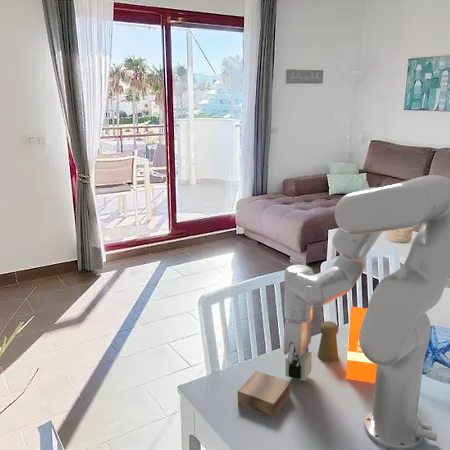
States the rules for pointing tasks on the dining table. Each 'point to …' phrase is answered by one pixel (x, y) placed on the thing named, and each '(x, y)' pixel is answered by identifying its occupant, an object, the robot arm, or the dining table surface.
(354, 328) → the orange juice
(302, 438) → the dining table surface
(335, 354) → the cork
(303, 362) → the sage cube
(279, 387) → the walnut block
